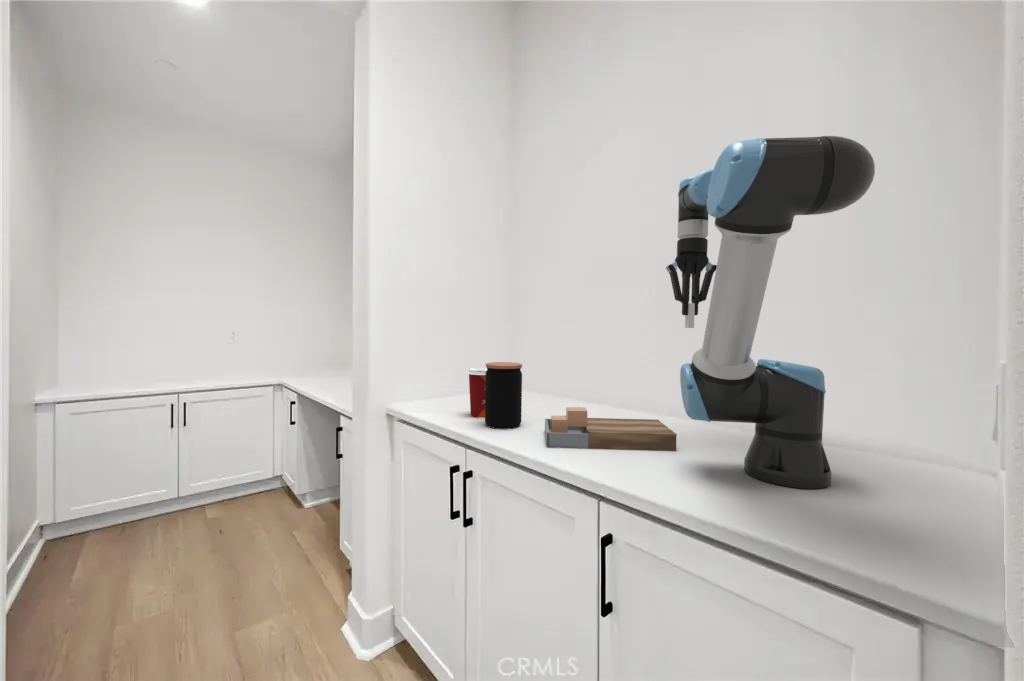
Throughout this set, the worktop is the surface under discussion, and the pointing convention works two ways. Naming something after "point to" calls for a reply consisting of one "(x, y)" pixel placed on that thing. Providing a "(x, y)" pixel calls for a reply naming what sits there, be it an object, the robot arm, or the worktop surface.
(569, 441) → the tray
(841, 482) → the worktop surface
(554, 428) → the tile
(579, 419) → the tile
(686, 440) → the worktop surface
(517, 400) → the coffee jar
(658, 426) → the board
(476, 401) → the coffee cup
